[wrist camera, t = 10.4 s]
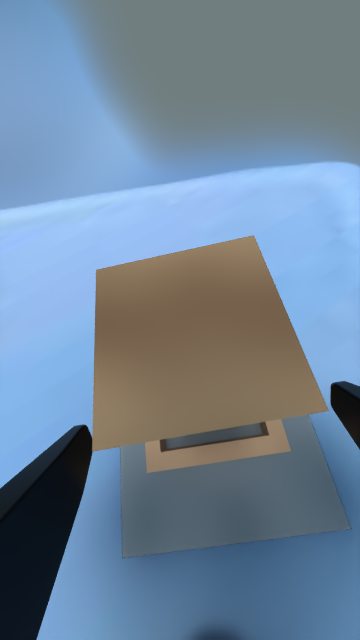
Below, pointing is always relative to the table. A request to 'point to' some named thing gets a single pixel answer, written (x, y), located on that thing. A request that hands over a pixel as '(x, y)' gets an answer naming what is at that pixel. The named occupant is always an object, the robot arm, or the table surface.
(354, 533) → the table surface
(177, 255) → the walnut pillar
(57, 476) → the robot arm
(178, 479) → the grey board with frame
